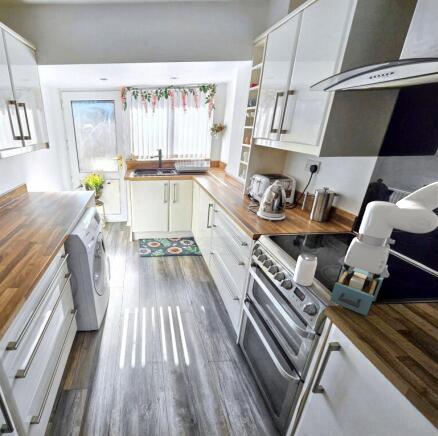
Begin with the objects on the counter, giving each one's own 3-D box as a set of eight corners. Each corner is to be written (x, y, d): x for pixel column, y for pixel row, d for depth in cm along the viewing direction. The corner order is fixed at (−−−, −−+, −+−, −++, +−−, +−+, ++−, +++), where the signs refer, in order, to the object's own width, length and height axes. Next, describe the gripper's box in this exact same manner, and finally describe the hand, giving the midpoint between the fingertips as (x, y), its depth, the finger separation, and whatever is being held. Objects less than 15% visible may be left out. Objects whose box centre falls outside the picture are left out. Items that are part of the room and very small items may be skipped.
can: (295, 285, 97) (300, 259, 92) (292, 276, 102) (297, 251, 98) (313, 288, 95) (320, 262, 90) (309, 278, 100) (315, 253, 96)
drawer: (364, 322, 77) (371, 303, 74) (326, 306, 84) (331, 288, 81) (373, 298, 87) (379, 281, 84) (338, 286, 94) (343, 269, 91)
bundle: (352, 278, 89) (355, 271, 88) (364, 283, 86) (367, 275, 85) (348, 287, 84) (350, 279, 83) (360, 291, 82) (363, 283, 81)
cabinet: (374, 301, 86) (382, 280, 83) (336, 287, 95) (342, 267, 91) (380, 285, 95) (388, 265, 91) (344, 273, 103) (350, 254, 99)
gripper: (409, 243, 75) (389, 290, 82) (344, 228, 87) (331, 271, 93) (407, 251, 71) (386, 301, 77) (338, 234, 82) (326, 279, 89)
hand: (356, 284), depth 85 cm, fingers closed on bundle, 3 cm apart
